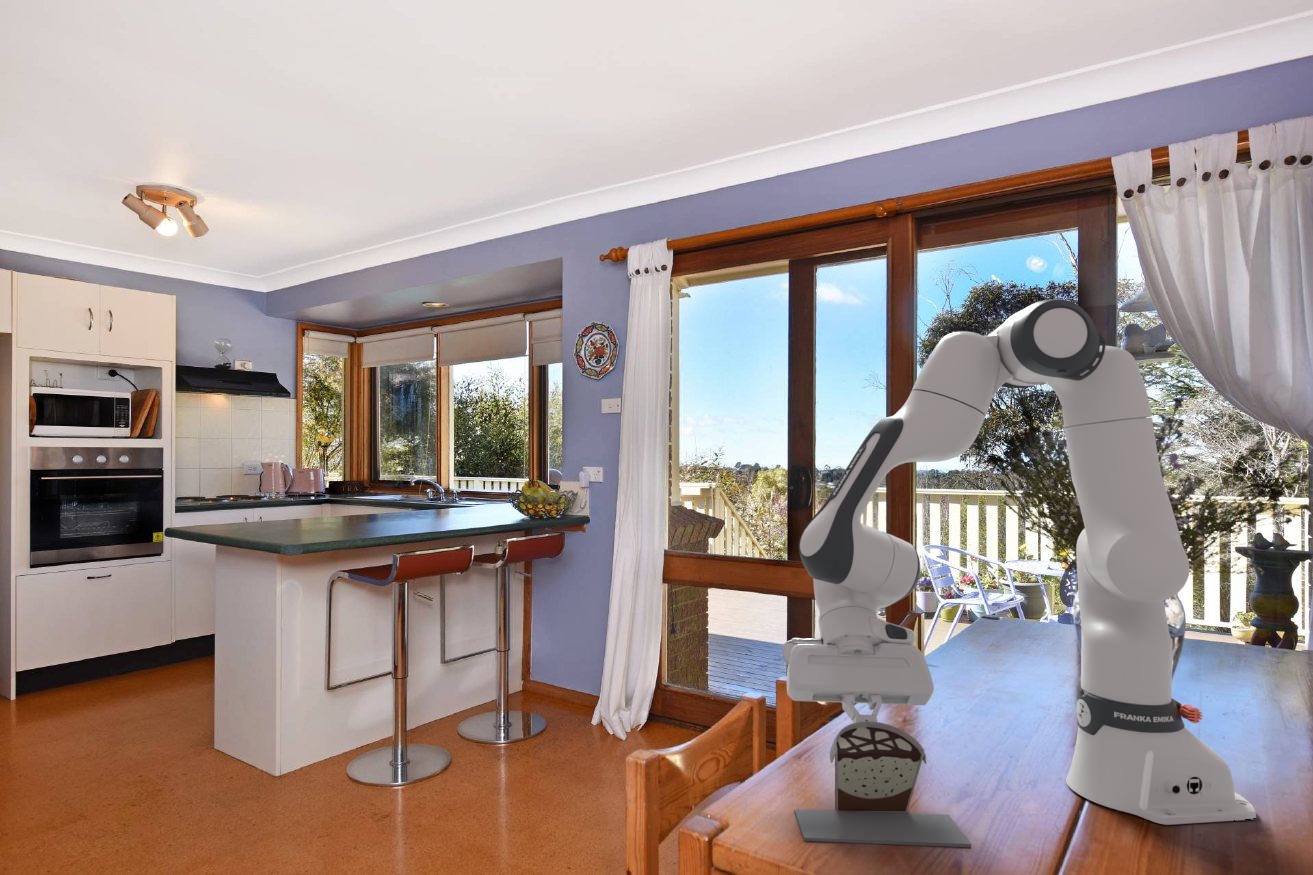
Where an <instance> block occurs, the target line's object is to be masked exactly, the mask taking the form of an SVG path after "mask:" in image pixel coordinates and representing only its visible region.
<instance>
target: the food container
mask: <svg viewBox="0 0 1313 875" xmlns="http://www.w3.org/2000/svg"><path fill="white" fill-rule="evenodd" d="M830 747H831V748H830V750H829V760H830V763H831V764H832V763H833V762H834V808H835V809H834V810H841V811H866V812H892V813H908V811H909V807H910V804H911V801H912V797H913V794H914V790H915V786H916V782H917V780H918V776H919V773H920V769H921V766H922V762H923V763H924V765H926V764H927V755H926V753H925V749H924V747H923V746H922V745H921V743H920V742H919V741H918V740H917V739H916V738H915V737H914V736H912V735H911V734H909V733H908V732H906V731H904V730H902V729H901V728H898V727H896V726H894V725H892V724H891V725H890V724H887V723H884V722H880V721H877V722H871V721H864V722H856V723H853V722H852V723H850V724H848V725H845V726H844V727H843V728H841V729H840V731H839V732H838V733H837V734H836V735H835V738H834V739H833V742H832V745H831V746H830Z"/></svg>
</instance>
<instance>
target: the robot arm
mask: <svg viewBox="0 0 1313 875" xmlns="http://www.w3.org/2000/svg"><path fill="white" fill-rule="evenodd" d="M1144 382H1145V381H1144V379H1143V376H1142V373H1141V371H1140V369H1139V366H1138V364H1137V361H1136V359H1135V357H1134V356H1133V354H1131V353H1130V352H1129V351H1128V350H1126V349H1124V348H1122V347H1121V348H1120V347H1117V346H1112V345H1106V340H1105V337H1103V335H1102V334H1101V333H1100V332H1099V330H1097V327H1096V326H1095V323H1094V321H1093V319H1092V318H1091V317H1090V315H1089V314H1088V313H1087V312H1086V311H1085V310H1084V308H1082V307H1081V306H1080V305H1078V304H1077V303H1075V302H1072V301H1069V300H1066V299H1059V298H1054V299H1045V300H1039V301H1036V302H1033V303H1031V304H1030V305H1028V306H1026V307H1025V308H1023V309H1021V310H1019V311H1017V312H1015V313H1014V314H1012V315H1011V316H1009V317H1008V318H1007V319H1005V321H1004V322H1003V323H1002V324H1001V325H999V326H998V327H996V328H995V329H994V330H992V331H991V332H990V333H989V334H987V335H982V334H979V333H977V332H973V331H960V330H959V331H954V332H951V333H949V334H946V335H945V336H943V337H942V338H941V339H940V340H939V341H938V343H937V344H936V346H935V347H934V348H933V349H932V351H931V353H930V355H929V356H928V358H927V359H926V361H925V363H924V365H923V366H922V368H921V370H920V372H919V374H918V376H917V378H916V380H915V382H914V384H913V387H912V389H911V392H910V394H909V396H908V398H907V399H906V401H905V403H904V404H903V405H902V406H901V408H900V409H898V411H896V413H895V414H894V415H891V416H887V417H883V418H881V419H880V420H879V421H878V422H877V423H876V424H875V425H874V426H873V427H872V428H871V430H870V431H869V433H868V434H867V435H866V436H865V439H863V441H862V443H861V444H860V446H859V447H858V449H857V451H856V452H855V453H854V455H853V457H851V460H850V461H849V463H848V465H847V467H846V468H845V470H844V471H843V473H842V474H841V476H840V478H839V480H838V481H837V483H836V485H835V486H834V488H833V490H832V491H831V492H830V494H829V495H828V497H827V499H826V500H825V502H824V503H823V505H822V507H820V509H819V510H818V511H817V512H816V514H815V515H814V516H813V517H812V518H811V519H810V520H809V522H808V523H807V525H805V528H804V529H803V531H802V533H801V535H800V537H799V541H798V552H799V556H800V560H801V562H802V565H803V567H804V569H805V571H806V572H807V573H808V575H809V576H810V577H811V578H812V579H813V581H812V582H813V591H814V600H815V604H816V608H817V609H818V611H819V616H818V617H819V618H818V630H819V637H820V638H816V637H815V638H800V637H792V638H791V639H790V640H787V641H786V642H784V643H783V644H782V648H781V652H782V653H781V654H782V660H783V662H784V663H785V664H786V665H787V670H786V694H787V696H788V697H789V698H790V699H791V700H792V701H794V702H817V703H819V702H820V703H821V702H823V703H841V705H842V710H843V711H844V712H845V714H846V715H847V717H849V719H850V720H851V721H852V724H853V723H856V722H864V721H871V722H878V717H877V716H878V714H879V711H880V709H881V707H882V705H902V706H903V705H905V706H926V705H927V704H928V702H929V701H930V700H931V698H932V696H933V694H934V692H935V691H934V689H935V686H934V682H933V678H932V674H931V671H930V668H929V666H928V663H927V661H926V658H925V656H924V654H923V652H922V651H921V650H920V649H919V648H917V647H916V646H915V643H916V642H915V641H916V635H915V633H914V631H913V630H912V629H910V628H907V627H906V626H905V627H904V626H901V625H898V624H894V623H892V622H889V621H886V620H884V619H881V618H879V617H878V615H877V612H878V611H879V610H880V609H881V610H883V609H885V608H889V607H890V606H891V607H892V606H893V605H894V604H896V603H898V602H900V601H901V600H903V599H905V598H907V596H908V597H909V595H910V594H911V593H912V592H913V591H914V590H915V588H916V587H917V585H918V583H919V580H920V576H921V562H920V556H919V554H918V552H917V551H918V550H916V548H915V546H914V545H913V544H912V543H910V542H908V541H907V540H906V541H905V540H904V539H902V538H899V537H897V536H896V535H893V534H889V533H887V532H885V531H882V530H878V529H876V528H873V527H872V526H869V525H866V524H864V523H861V517H862V515H863V513H864V512H865V510H866V508H867V507H868V505H869V504H870V501H871V500H872V498H874V497H873V496H874V495H875V493H876V492H877V490H878V489H879V487H880V485H881V483H882V482H883V480H884V479H885V477H886V476H887V474H889V473H890V471H892V470H893V469H894V468H896V467H898V466H900V465H903V464H906V463H920V462H921V463H936V462H944V461H948V460H952V459H955V458H956V457H958V456H961V455H962V454H964V453H965V452H967V451H968V450H969V449H970V448H971V446H972V445H973V444H974V442H975V441H976V439H977V437H978V435H979V432H980V431H981V429H982V426H983V424H984V421H985V419H986V415H987V413H988V412H989V408H990V406H991V403H992V400H993V398H994V397H995V395H996V394H997V392H998V391H999V390H1000V388H1011V389H1027V388H1031V387H1034V386H1040V385H1042V384H1043V385H1044V384H1047V386H1049V387H1050V388H1051V389H1052V390H1053V391H1054V393H1055V394H1056V396H1057V397H1058V400H1059V403H1060V406H1061V408H1062V409H1061V410H1062V412H1061V413H1062V421H1063V427H1064V435H1065V440H1066V441H1065V442H1066V449H1067V455H1068V461H1069V462H1068V464H1069V468H1070V469H1069V470H1070V476H1071V477H1070V478H1071V481H1072V485H1073V487H1074V490H1075V494H1076V498H1077V501H1078V506H1079V508H1080V513H1081V516H1082V521H1083V527H1084V528H1083V529H1082V531H1081V532H1080V534H1079V535H1078V537H1077V540H1076V547H1075V553H1076V578H1077V592H1078V595H1077V597H1078V606H1079V616H1080V627H1081V628H1080V629H1081V647H1080V648H1081V650H1080V652H1081V654H1080V657H1081V658H1080V662H1081V663H1080V684H1079V685H1077V688H1076V689H1077V690H1076V723H1077V734H1076V740H1075V741H1076V742H1075V747H1074V752H1073V757H1072V760H1071V764H1070V768H1069V770H1068V772H1067V775H1066V778H1065V782H1066V784H1067V786H1068V787H1069V788H1070V789H1071V790H1072V791H1073V792H1075V793H1076V794H1077V795H1079V796H1081V797H1083V798H1085V799H1087V800H1088V801H1091V802H1094V803H1096V804H1098V805H1100V806H1103V807H1107V808H1109V809H1114V810H1116V811H1119V812H1124V813H1128V814H1131V815H1135V816H1137V817H1141V818H1143V819H1145V820H1148V821H1151V822H1153V823H1157V824H1160V825H1166V826H1170V825H1184V824H1187V825H1188V824H1199V823H1200V824H1201V823H1217V822H1218V823H1219V822H1233V821H1234V820H1235V821H1246V820H1245V819H1250V818H1256V819H1257V813H1256V810H1255V807H1254V806H1253V805H1252V803H1251V802H1249V801H1248V800H1247V799H1246V798H1245V797H1243V796H1242V795H1240V794H1239V793H1238V792H1236V791H1235V784H1234V779H1233V775H1232V772H1231V768H1230V767H1229V765H1228V764H1227V762H1226V761H1225V760H1224V759H1223V757H1221V756H1220V755H1219V754H1218V753H1217V752H1216V751H1214V750H1213V749H1212V748H1211V747H1210V746H1208V745H1207V744H1206V743H1204V742H1203V741H1202V740H1201V739H1200V738H1198V737H1197V736H1196V735H1195V734H1194V733H1192V732H1191V731H1190V730H1189V729H1187V728H1186V727H1185V726H1186V725H1185V723H1184V720H1183V719H1185V720H1187V721H1189V722H1191V723H1193V724H1197V723H1199V722H1201V720H1203V712H1202V711H1201V709H1199V708H1196V707H1193V706H1192V705H1190V704H1182V703H1181V702H1179V701H1177V700H1176V699H1174V698H1172V692H1173V691H1172V684H1173V683H1172V682H1173V681H1172V680H1173V679H1172V678H1173V641H1172V640H1173V639H1172V637H1171V634H1170V631H1169V630H1170V629H1169V624H1168V619H1167V611H1166V606H1165V600H1168V599H1170V598H1173V597H1174V596H1176V595H1177V594H1178V593H1180V591H1181V590H1182V589H1183V588H1184V587H1185V585H1186V584H1187V583H1188V582H1187V581H1188V579H1189V576H1190V561H1189V559H1188V556H1187V553H1186V550H1185V548H1184V545H1183V543H1182V539H1181V534H1180V531H1179V527H1178V523H1177V521H1176V520H1177V519H1176V516H1175V513H1174V510H1173V507H1172V503H1171V500H1170V498H1169V494H1168V492H1167V489H1166V486H1165V483H1164V479H1163V476H1162V471H1161V466H1160V461H1159V453H1158V446H1157V440H1156V436H1155V428H1154V422H1153V417H1152V416H1153V415H1152V410H1151V409H1152V408H1151V405H1150V401H1149V397H1148V396H1149V395H1148V393H1147V389H1146V386H1145V383H1144ZM855 704H868V709H869V710H871V712H872V713H871V714H861V713H860V712H859V711H858V710H857V708H856V707H855Z"/></svg>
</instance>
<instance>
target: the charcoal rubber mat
mask: <svg viewBox="0 0 1313 875" xmlns="http://www.w3.org/2000/svg"><path fill="white" fill-rule="evenodd" d="M793 812H794V815H795V817H796V821H797V824H798V826H799V829H800V833H801V836H802V838H803V841H804V842H822V843H823V842H829V843H849V844H850V843H853V844H872V845H873V844H874V845H875V844H877V845H897V846H899V845H903V846H927V847H928V846H929V847H948V848H949V847H950V848H951V847H952V848H972V843H971V842H970V841H969V840H968V838H967V837H966V835H965V834H964V833H963V832H962V830H961V829H960V828H959V826H958V825H957V824H956V822H955V821H954V820H953V819H952V817H951V816H950V814H939V813H938V814H937V813H917V812H915V813H913V812H907V813H892V812H866V811H841V810H835V809H814V808H813V809H810V808H809V809H808V808H794V810H793Z"/></svg>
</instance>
